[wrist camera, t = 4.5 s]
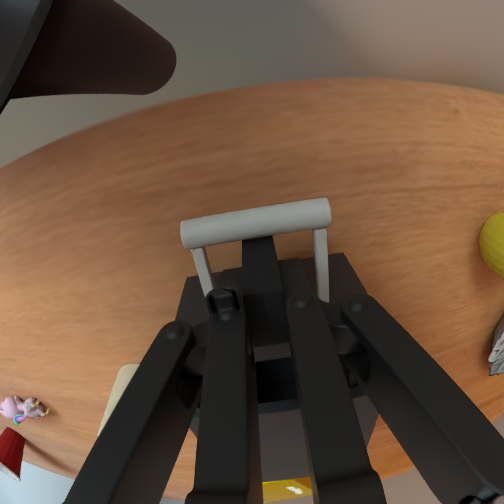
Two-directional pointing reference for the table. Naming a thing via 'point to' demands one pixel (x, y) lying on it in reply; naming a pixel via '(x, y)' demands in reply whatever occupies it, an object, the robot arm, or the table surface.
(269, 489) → the element tile
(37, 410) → the pink horned figurine
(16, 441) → the plastic cup
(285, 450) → the cabinet
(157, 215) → the table surface
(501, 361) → the brain slice
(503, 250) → the lemon
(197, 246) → the drawer
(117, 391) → the candle
